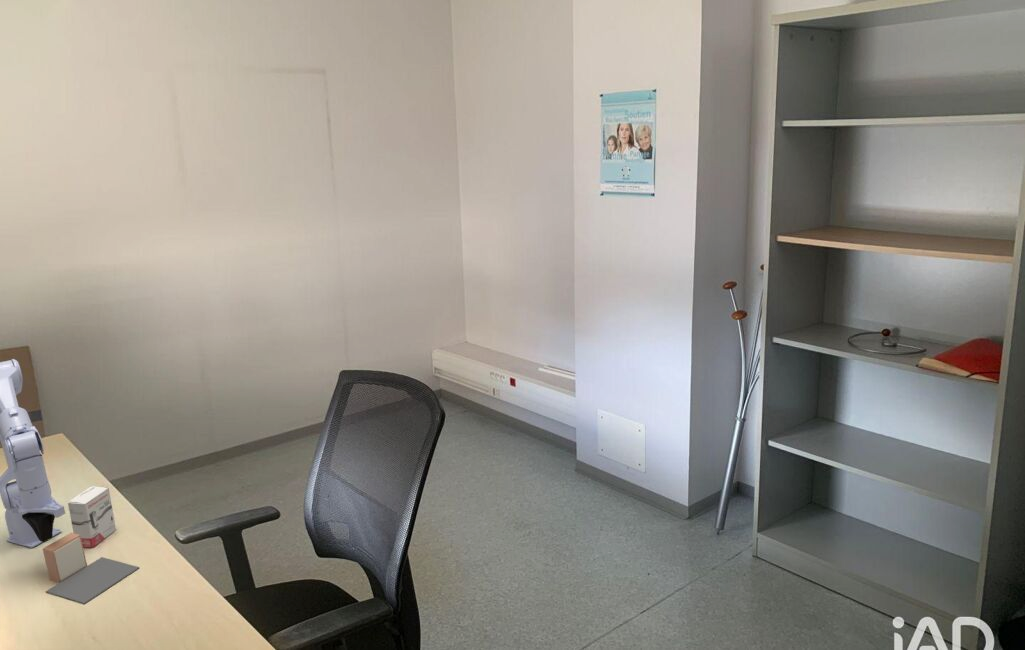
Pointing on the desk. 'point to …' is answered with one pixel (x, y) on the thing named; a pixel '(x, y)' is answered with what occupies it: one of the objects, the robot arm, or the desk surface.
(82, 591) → the rubber mat
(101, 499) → the ink box
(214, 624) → the desk surface
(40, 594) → the desk surface
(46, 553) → the salmon tan block
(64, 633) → the desk surface
